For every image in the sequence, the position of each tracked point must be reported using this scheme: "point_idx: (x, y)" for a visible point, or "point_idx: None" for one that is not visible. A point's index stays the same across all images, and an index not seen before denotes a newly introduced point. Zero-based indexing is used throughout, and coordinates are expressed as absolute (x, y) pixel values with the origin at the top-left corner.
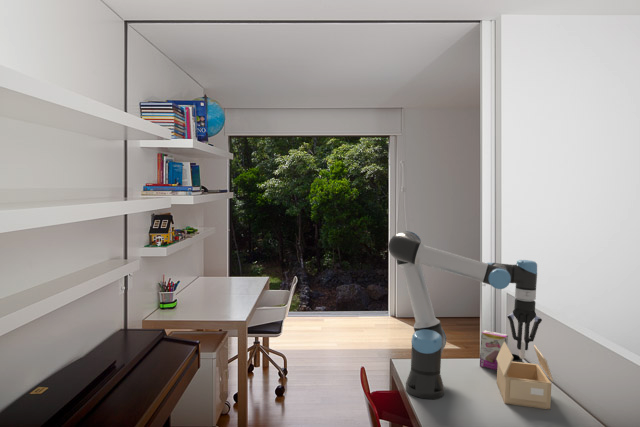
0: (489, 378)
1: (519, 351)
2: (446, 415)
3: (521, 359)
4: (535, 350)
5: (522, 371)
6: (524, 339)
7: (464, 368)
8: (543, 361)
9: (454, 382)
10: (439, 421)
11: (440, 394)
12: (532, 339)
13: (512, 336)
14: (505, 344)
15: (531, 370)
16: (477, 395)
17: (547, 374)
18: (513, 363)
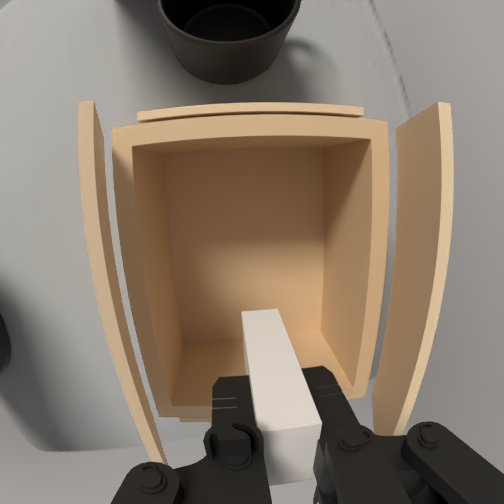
0: (126, 100)
1: (244, 337)
2: (56, 433)
3: (293, 16)
4: (424, 129)
5: (277, 140)
6: (326, 463)
7: (46, 45)
8: (394, 394)
9: (7, 219)
10: (57, 451)
11: (5, 362)
12: (409, 493)
13: (124, 480)
14: (84, 219)
15: (331, 140)
16: (83, 311)
17: (386, 331)
18: (219, 138)
